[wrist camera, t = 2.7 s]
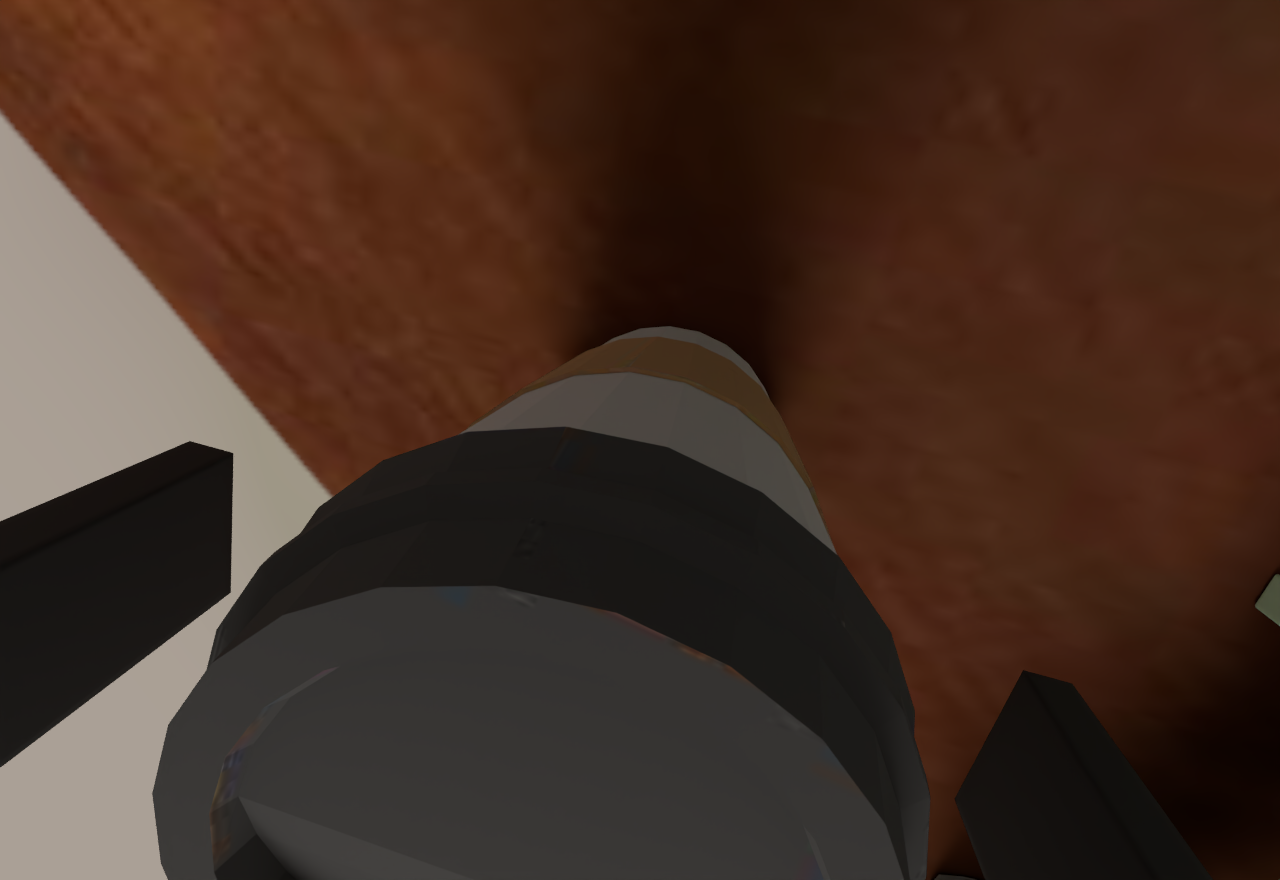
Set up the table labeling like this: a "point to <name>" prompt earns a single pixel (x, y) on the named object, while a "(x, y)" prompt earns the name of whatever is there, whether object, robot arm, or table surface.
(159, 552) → the robot arm
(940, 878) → the giant panda
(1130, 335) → the table surface
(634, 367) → the coffee cup
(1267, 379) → the table surface
